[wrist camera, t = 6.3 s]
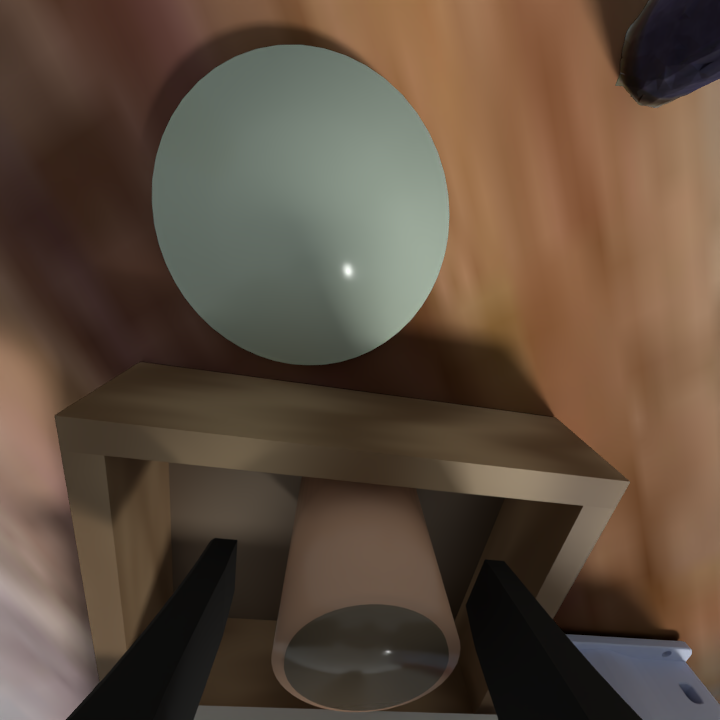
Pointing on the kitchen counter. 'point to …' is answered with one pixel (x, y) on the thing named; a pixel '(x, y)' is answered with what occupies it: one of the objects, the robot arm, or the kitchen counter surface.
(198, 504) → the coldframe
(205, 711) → the frame
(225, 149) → the saucer
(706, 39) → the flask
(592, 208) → the kitchen counter surface
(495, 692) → the robot arm
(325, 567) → the brown cylinder
